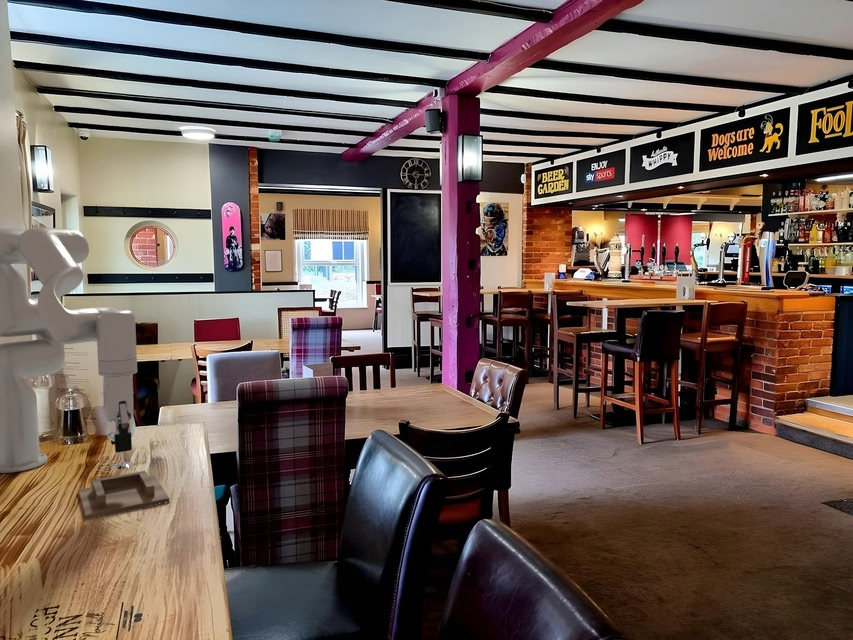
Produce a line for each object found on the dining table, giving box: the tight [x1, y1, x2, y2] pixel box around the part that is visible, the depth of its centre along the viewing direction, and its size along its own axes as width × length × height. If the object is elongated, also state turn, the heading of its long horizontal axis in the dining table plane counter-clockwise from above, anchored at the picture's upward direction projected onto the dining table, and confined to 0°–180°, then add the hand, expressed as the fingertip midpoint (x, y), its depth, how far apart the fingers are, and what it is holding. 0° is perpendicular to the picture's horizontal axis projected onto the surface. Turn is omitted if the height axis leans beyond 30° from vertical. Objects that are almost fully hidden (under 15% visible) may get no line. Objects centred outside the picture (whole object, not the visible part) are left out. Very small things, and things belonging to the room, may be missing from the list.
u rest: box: [78, 470, 170, 520], centre depth 133 cm, size 16×16×4 cm
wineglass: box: [105, 413, 136, 471], centre depth 131 cm, size 6×6×12 cm
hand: (121, 446), depth 132 cm, fingers closed on wineglass, 5 cm apart
